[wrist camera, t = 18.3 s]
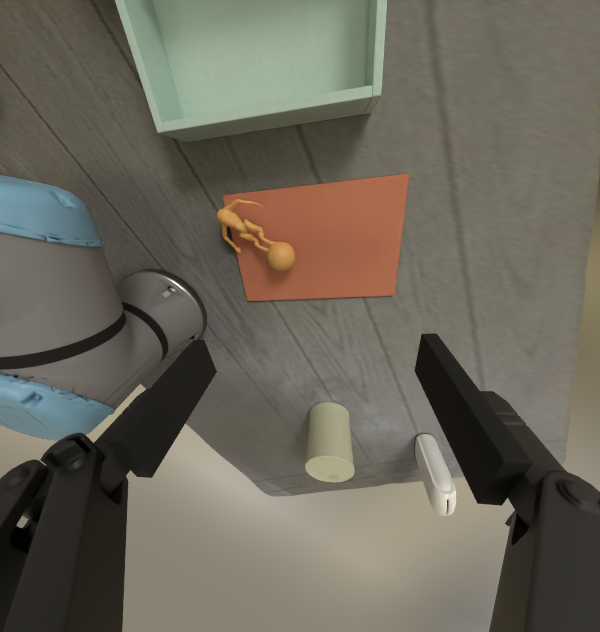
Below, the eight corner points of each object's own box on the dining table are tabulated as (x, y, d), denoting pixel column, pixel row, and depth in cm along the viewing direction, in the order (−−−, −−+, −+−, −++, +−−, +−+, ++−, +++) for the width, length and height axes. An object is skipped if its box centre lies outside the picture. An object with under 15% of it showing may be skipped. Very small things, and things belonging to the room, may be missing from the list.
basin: (185, 142, 28) (157, 133, 23) (135, -36, 21) (82, -98, 16) (371, 112, 24) (381, 95, 20) (381, -110, 18) (400, -213, 13)
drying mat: (248, 300, 38) (247, 301, 38) (223, 195, 30) (222, 195, 30) (393, 294, 34) (394, 295, 34) (408, 173, 27) (409, 173, 26)
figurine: (314, 241, 29) (254, 178, 30) (288, 251, 25) (219, 178, 26) (285, 280, 35) (235, 227, 36) (260, 294, 31) (204, 233, 31)
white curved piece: (432, 457, 54) (457, 523, 44) (413, 457, 55) (434, 522, 45) (434, 432, 50) (463, 499, 39) (414, 433, 50) (437, 498, 40)
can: (319, 430, 54) (317, 487, 44) (302, 406, 50) (295, 463, 40) (355, 423, 51) (362, 482, 41) (340, 397, 47) (343, 455, 37)
